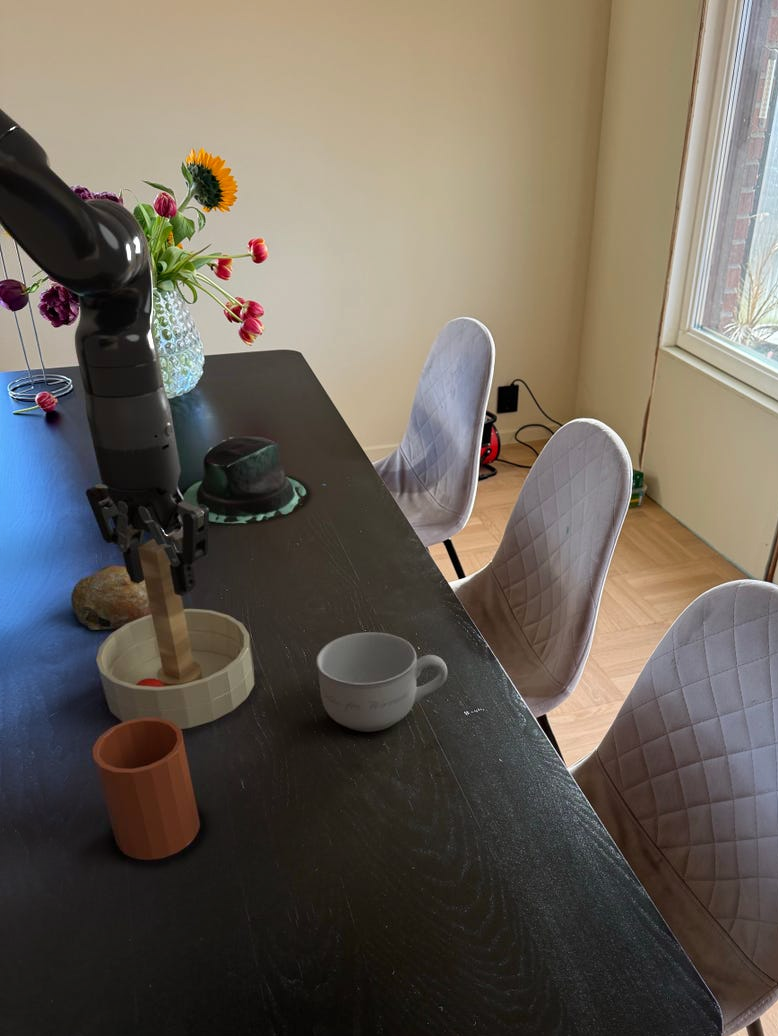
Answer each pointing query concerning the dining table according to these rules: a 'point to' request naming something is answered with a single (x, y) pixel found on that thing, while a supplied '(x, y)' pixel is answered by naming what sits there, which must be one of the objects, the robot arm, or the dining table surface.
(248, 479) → the dark fedora hat
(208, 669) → the bowl
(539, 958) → the dining table surface
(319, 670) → the teacup
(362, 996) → the dining table surface
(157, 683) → the tomato
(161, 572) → the wooden pestle
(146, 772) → the crock
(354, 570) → the dining table surface
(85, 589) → the bread roll
